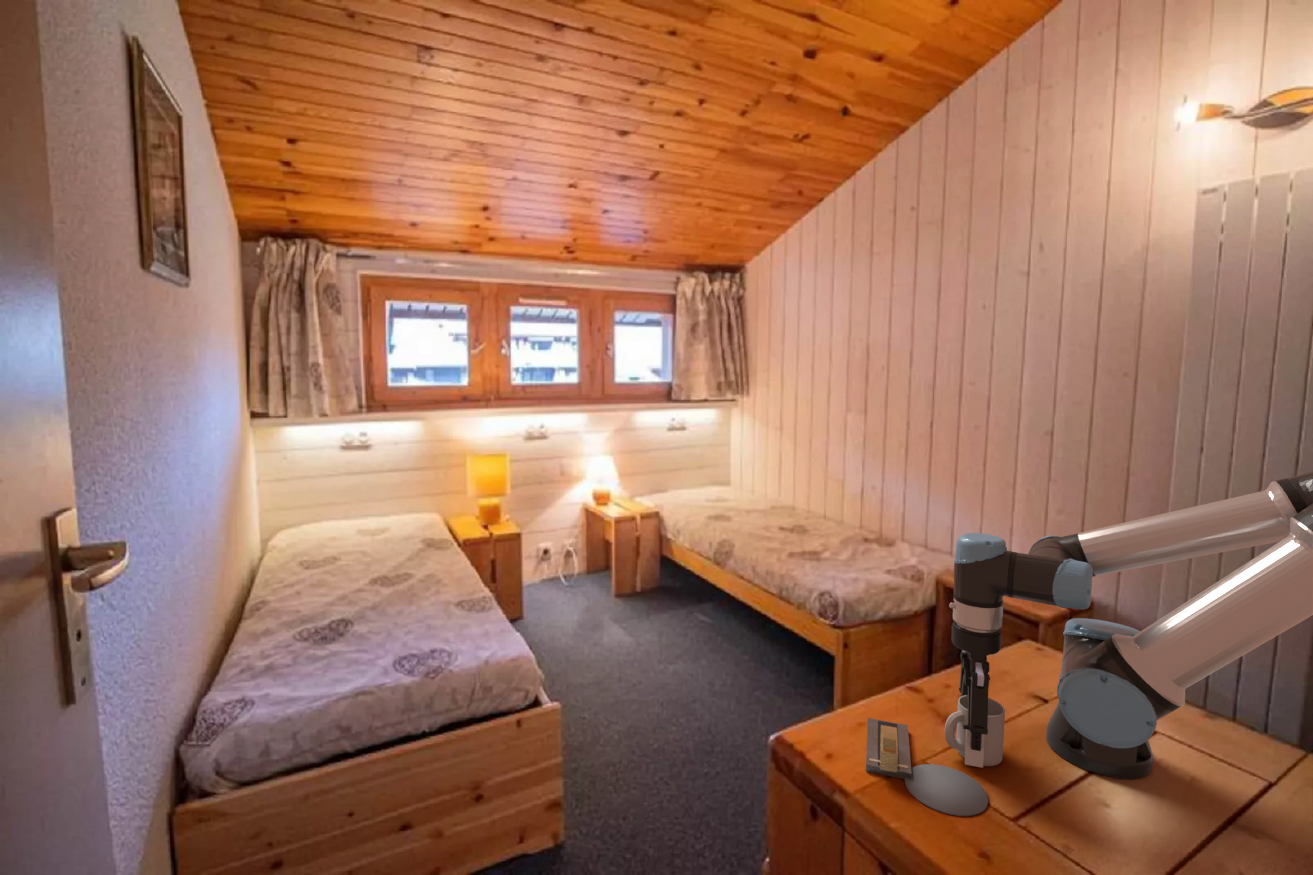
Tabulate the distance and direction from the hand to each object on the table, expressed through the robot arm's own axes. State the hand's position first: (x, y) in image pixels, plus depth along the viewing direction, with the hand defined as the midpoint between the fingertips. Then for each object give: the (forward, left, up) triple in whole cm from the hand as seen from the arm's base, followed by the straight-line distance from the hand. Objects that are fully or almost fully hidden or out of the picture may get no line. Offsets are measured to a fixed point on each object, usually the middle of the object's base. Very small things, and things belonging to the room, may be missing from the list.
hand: (970, 751), depth 107 cm
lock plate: (+14, +4, 0) cm, 14 cm away
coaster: (+5, +12, 0) cm, 13 cm away
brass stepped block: (+14, +9, +1) cm, 16 cm away
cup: (0, +1, 0) cm, 1 cm away
